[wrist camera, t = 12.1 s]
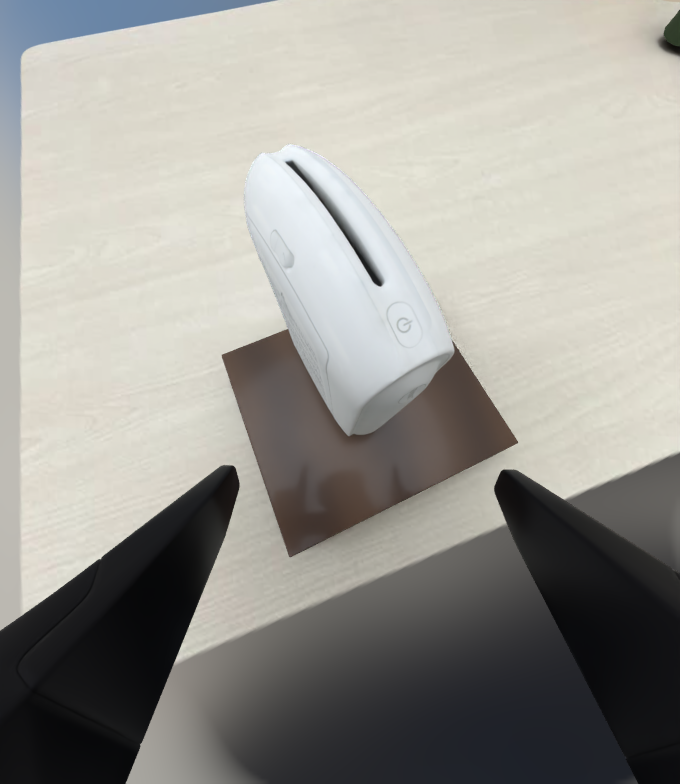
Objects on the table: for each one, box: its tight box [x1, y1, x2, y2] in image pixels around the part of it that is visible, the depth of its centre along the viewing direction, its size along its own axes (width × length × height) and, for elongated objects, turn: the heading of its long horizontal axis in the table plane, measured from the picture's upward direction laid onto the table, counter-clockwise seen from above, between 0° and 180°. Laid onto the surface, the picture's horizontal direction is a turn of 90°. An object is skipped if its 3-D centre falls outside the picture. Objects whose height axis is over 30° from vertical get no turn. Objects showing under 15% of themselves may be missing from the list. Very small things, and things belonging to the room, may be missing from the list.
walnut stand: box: [222, 329, 518, 557], centre depth 19 cm, size 17×15×2 cm
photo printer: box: [244, 144, 455, 436], centre depth 12 cm, size 10×4×12 cm, turn 29°
